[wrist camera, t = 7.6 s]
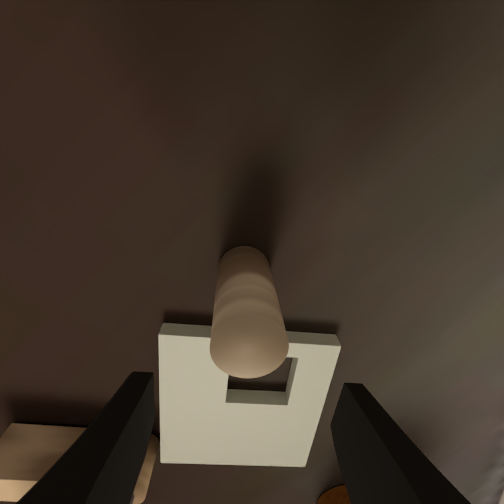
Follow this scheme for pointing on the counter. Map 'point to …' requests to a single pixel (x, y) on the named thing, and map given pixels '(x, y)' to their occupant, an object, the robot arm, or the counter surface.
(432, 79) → the counter surface
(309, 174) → the counter surface
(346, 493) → the disposable coffee cup
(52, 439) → the hinged leg
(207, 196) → the counter surface
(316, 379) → the stool seat
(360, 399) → the robot arm
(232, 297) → the loose leg
